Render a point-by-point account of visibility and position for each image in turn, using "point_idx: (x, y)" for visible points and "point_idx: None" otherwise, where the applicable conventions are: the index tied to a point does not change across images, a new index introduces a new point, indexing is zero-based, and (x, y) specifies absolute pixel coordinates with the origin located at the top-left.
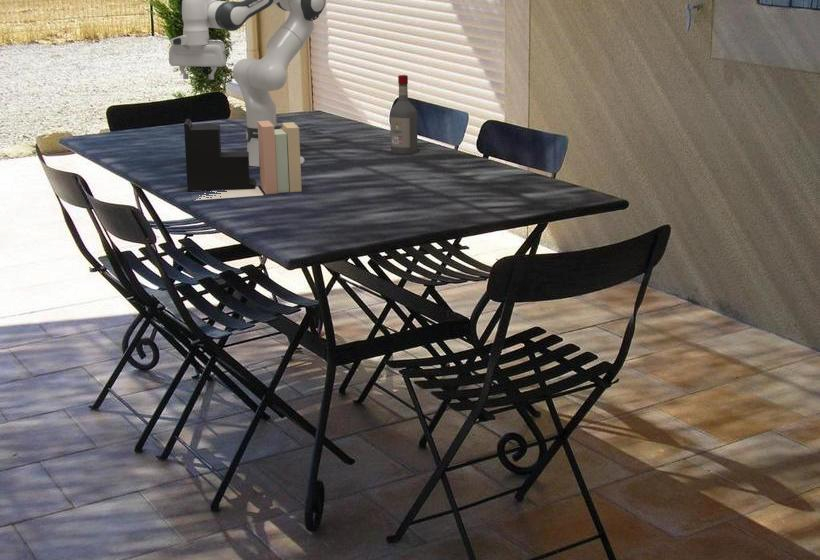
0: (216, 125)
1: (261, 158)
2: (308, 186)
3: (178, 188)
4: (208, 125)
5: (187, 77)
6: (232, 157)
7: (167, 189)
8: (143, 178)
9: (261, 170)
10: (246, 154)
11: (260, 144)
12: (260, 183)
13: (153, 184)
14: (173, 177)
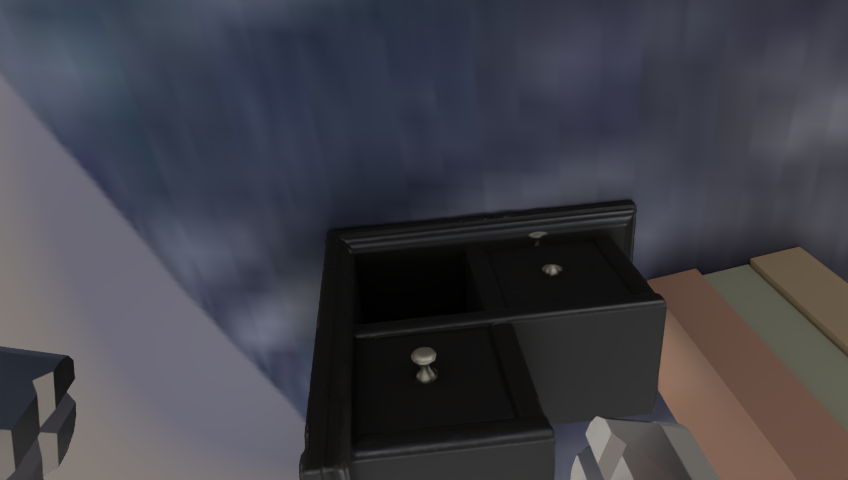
0: (532, 459)
1: (715, 431)
2: (841, 277)
3: (289, 288)
4: (474, 460)
5: (60, 436)
6: (576, 419)
7: (244, 303)
8: (20, 62)
9: (685, 372)
10: (650, 373)
11: (751, 477)
12: (653, 289)
13: (140, 207)
14: (190, 48)
